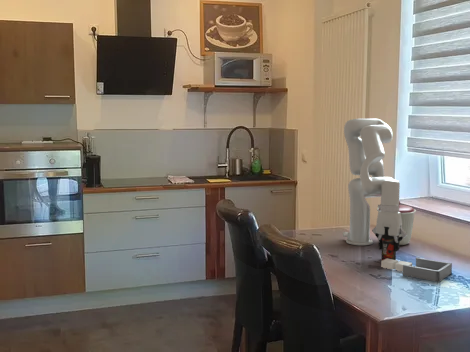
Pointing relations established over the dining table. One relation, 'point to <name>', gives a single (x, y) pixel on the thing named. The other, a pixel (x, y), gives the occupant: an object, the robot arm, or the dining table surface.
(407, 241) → the canister
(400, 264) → the tile front
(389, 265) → the tile back
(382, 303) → the dining table surface
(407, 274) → the grey u-shaped bracket
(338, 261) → the dining table surface
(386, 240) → the deodorant
